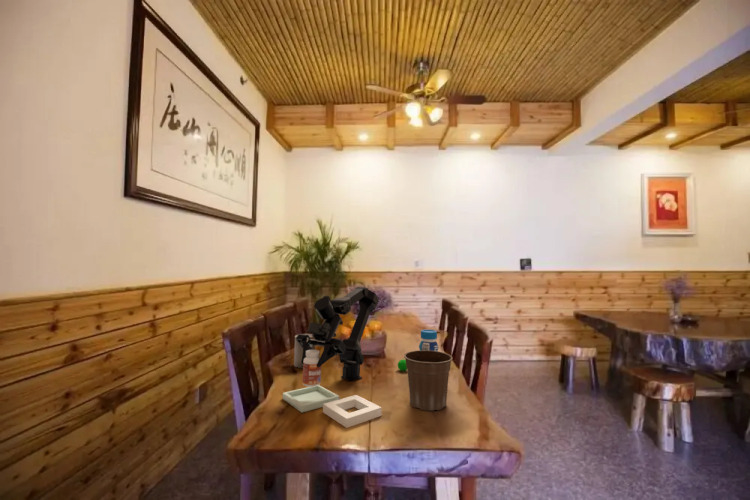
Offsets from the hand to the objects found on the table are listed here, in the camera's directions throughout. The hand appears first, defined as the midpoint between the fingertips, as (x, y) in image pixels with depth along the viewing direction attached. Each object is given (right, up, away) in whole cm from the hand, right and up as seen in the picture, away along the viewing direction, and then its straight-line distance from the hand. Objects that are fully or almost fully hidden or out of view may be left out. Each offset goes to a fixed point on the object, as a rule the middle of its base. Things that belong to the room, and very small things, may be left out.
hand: (309, 365), depth 112 cm
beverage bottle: (+44, -15, +25) cm, 53 cm away
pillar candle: (-11, -15, +42) cm, 46 cm away
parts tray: (0, -12, 0) cm, 12 cm away
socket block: (+15, -12, -9) cm, 21 cm away
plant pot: (+40, -13, 0) cm, 42 cm away
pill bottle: (0, -7, +1) cm, 7 cm away
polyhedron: (+35, -16, +37) cm, 53 cm away
